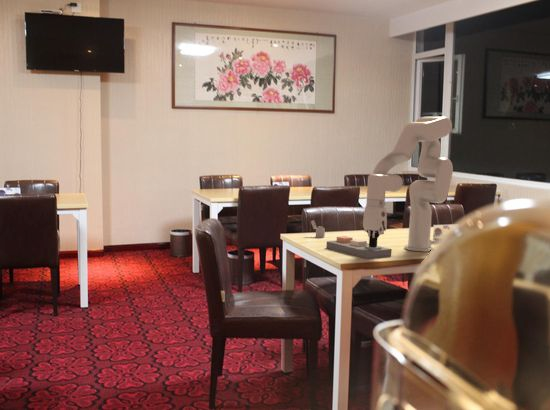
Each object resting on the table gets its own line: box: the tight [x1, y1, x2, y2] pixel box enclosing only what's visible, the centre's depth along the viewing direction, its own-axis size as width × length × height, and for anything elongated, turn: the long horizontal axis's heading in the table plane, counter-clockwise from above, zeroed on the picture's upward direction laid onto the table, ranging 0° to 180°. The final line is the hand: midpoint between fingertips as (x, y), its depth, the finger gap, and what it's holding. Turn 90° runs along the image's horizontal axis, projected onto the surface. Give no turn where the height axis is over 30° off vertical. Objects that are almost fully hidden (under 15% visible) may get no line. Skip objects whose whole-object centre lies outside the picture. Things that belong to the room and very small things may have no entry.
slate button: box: [365, 245, 383, 250], centre depth 251 cm, size 5×5×3 cm
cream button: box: [350, 238, 368, 247], centre depth 258 cm, size 5×5×3 cm
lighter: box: [310, 219, 326, 238], centre depth 294 cm, size 7×2×8 cm, turn 64°
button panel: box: [326, 240, 392, 260], centre depth 258 cm, size 14×26×3 cm, turn 35°
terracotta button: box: [336, 235, 354, 243], centre depth 265 cm, size 5×5×3 cm
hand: (372, 246), depth 250 cm, fingers closed
